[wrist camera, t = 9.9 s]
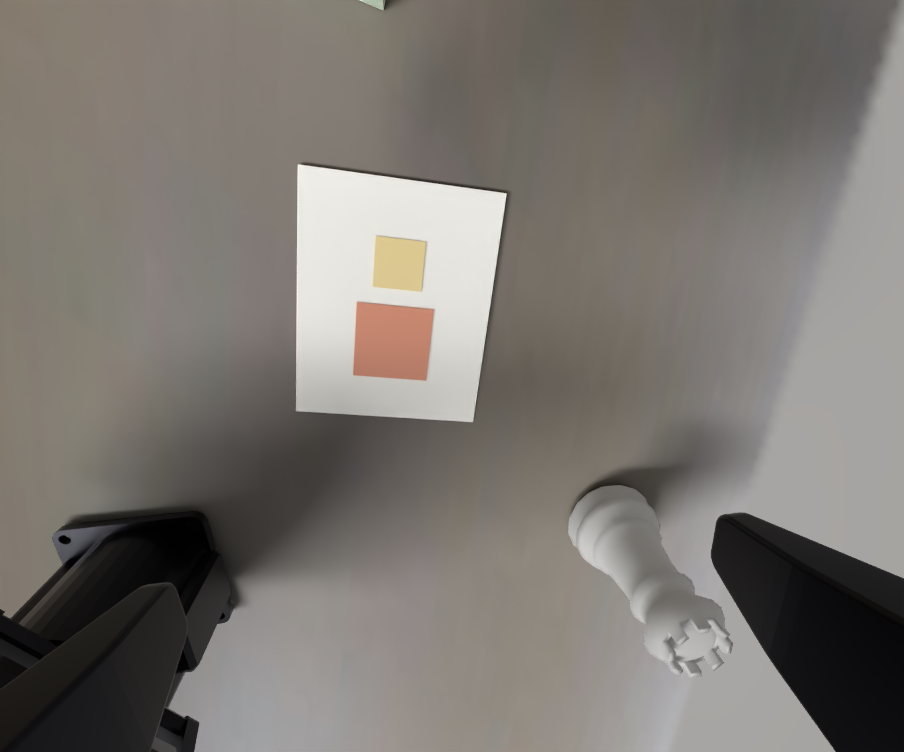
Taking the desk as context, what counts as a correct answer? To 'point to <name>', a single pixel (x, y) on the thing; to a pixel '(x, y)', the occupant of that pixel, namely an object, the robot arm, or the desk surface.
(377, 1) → the baseplate
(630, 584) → the rook chess piece
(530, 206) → the desk surface
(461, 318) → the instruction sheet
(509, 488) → the desk surface
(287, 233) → the desk surface
